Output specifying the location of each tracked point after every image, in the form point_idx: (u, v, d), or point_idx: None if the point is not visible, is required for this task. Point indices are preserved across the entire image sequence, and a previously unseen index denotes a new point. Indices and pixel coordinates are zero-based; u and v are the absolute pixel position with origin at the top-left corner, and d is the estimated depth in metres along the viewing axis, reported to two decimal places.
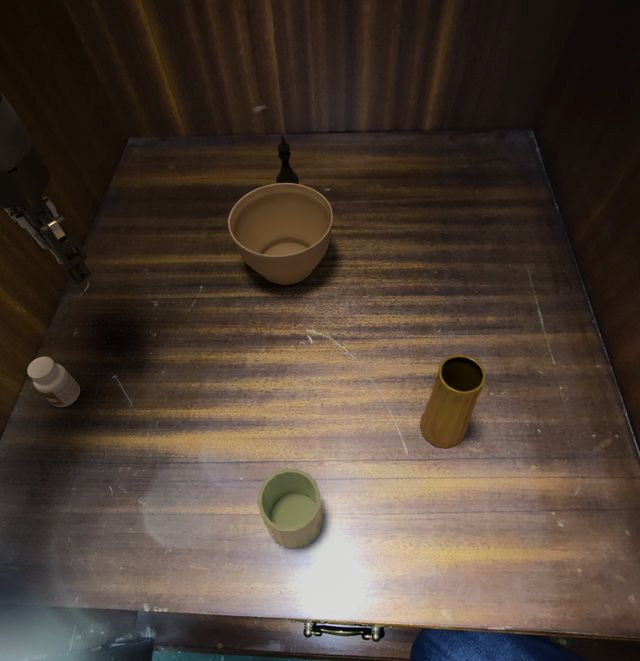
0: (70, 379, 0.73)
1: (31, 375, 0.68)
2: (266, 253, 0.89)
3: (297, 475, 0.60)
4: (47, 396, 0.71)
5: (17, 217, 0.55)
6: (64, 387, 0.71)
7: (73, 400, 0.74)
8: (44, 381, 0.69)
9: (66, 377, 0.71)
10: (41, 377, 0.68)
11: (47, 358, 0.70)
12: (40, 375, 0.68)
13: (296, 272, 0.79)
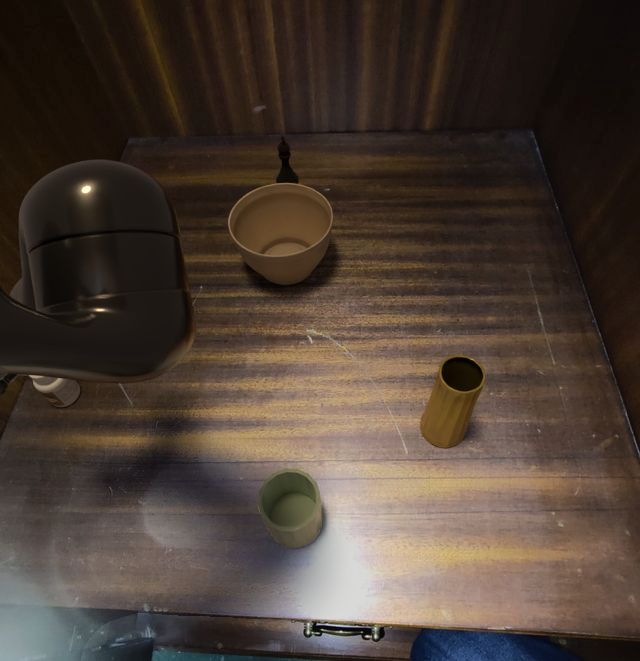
0: None
1: (31, 375, 0.68)
2: (266, 253, 0.89)
3: (297, 475, 0.60)
4: (47, 396, 0.71)
5: None
6: (64, 387, 0.71)
7: (73, 400, 0.74)
8: (44, 381, 0.69)
9: None
10: (41, 377, 0.68)
11: None
12: None
13: (296, 272, 0.79)
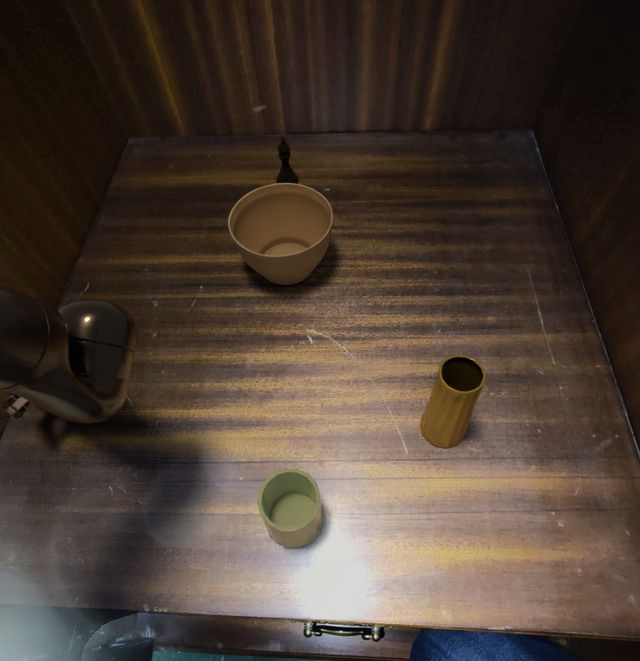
0: None
1: None
2: (266, 253, 0.89)
3: (297, 475, 0.60)
4: None
5: None
6: None
7: None
8: None
9: None
10: None
11: None
12: None
13: (296, 272, 0.79)
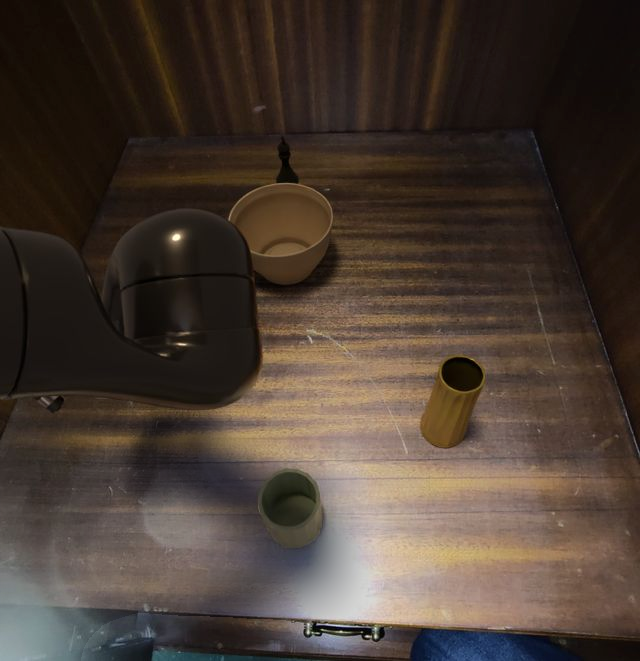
0: None
1: None
2: (266, 253, 0.89)
3: (297, 475, 0.60)
4: None
5: None
6: None
7: None
8: None
9: None
10: None
11: None
12: None
13: (296, 272, 0.79)
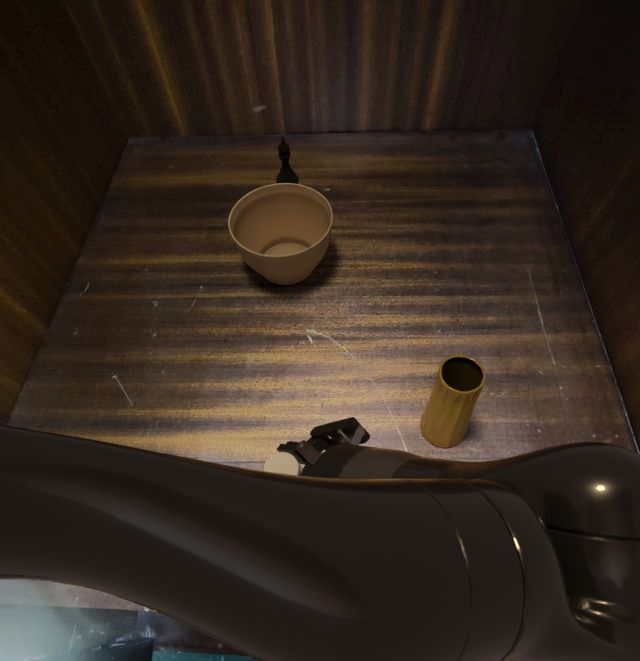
0: None
1: None
2: (266, 253, 0.89)
3: None
4: None
5: None
6: None
7: None
8: None
9: None
10: None
11: (287, 455, 0.50)
12: None
13: (296, 272, 0.79)
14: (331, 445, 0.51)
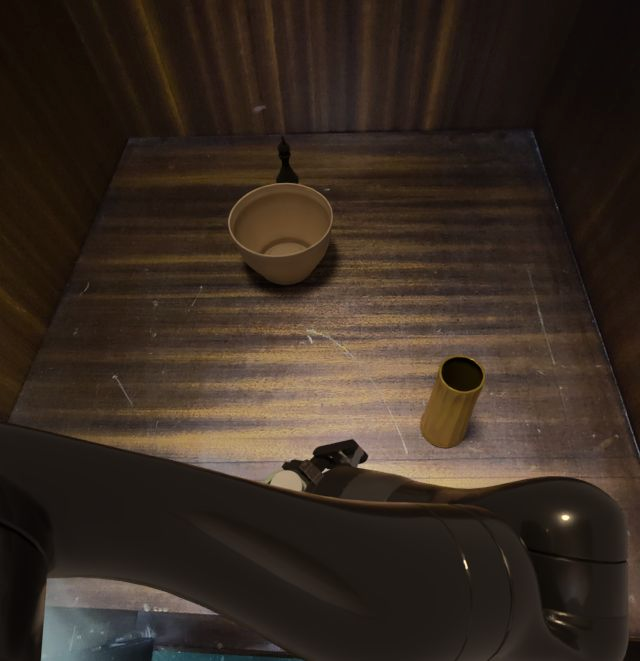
0: None
1: None
2: (266, 253, 0.89)
3: None
4: None
5: None
6: None
7: None
8: None
9: None
10: None
11: (292, 473, 0.54)
12: None
13: (296, 272, 0.79)
14: (332, 464, 0.55)
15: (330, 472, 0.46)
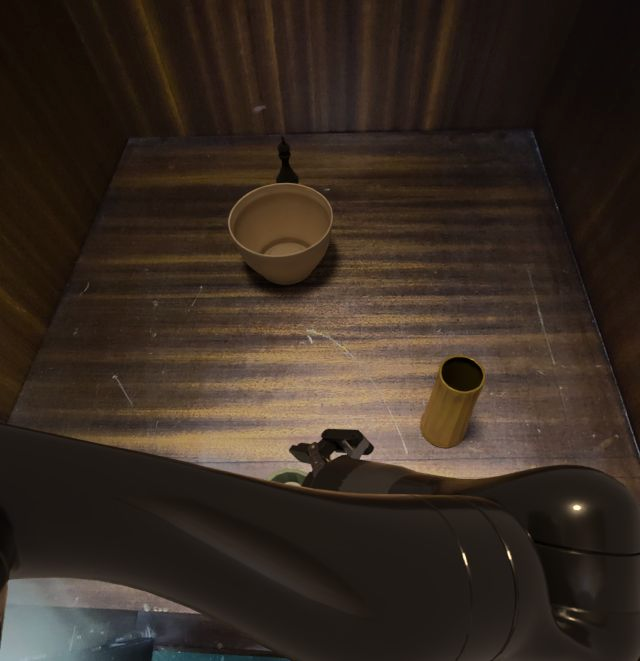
0: None
1: None
2: (266, 253, 0.89)
3: (297, 475, 0.60)
4: None
5: None
6: None
7: None
8: None
9: None
10: None
11: (296, 484, 0.58)
12: None
13: (296, 272, 0.79)
14: (339, 448, 0.53)
15: (329, 463, 0.44)
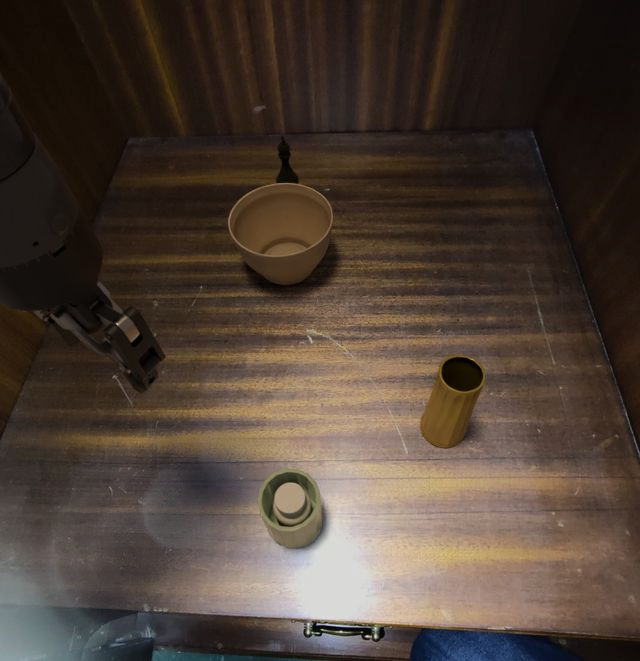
0: None
1: (282, 509, 0.56)
2: (266, 253, 0.89)
3: (297, 475, 0.60)
4: None
5: (58, 316, 0.36)
6: (308, 517, 0.59)
7: None
8: (295, 515, 0.57)
9: None
10: (295, 511, 0.56)
11: (295, 485, 0.58)
12: (293, 509, 0.56)
13: (296, 272, 0.79)
14: None
15: None
